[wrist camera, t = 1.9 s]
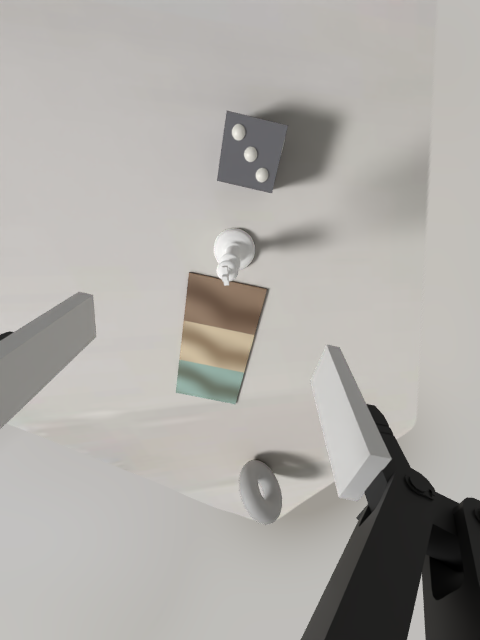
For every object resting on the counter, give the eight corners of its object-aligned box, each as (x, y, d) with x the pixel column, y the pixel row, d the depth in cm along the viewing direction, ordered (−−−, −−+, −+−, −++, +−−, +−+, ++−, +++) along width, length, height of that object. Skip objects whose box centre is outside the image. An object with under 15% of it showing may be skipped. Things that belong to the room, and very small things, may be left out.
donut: (283, 472, 52) (288, 531, 43) (270, 477, 53) (272, 537, 45) (250, 447, 49) (248, 506, 40) (236, 454, 50) (232, 512, 42)
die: (232, 121, 25) (226, 110, 21) (284, 134, 25) (289, 125, 21) (223, 179, 27) (216, 180, 23) (270, 190, 28) (272, 193, 23)
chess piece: (254, 226, 30) (251, 248, 21) (256, 268, 32) (254, 303, 23) (211, 229, 30) (191, 252, 21) (216, 270, 32) (200, 305, 24)
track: (189, 272, 33) (189, 272, 32) (266, 288, 33) (266, 289, 33) (176, 391, 43) (175, 392, 43) (235, 402, 43) (235, 404, 43)
